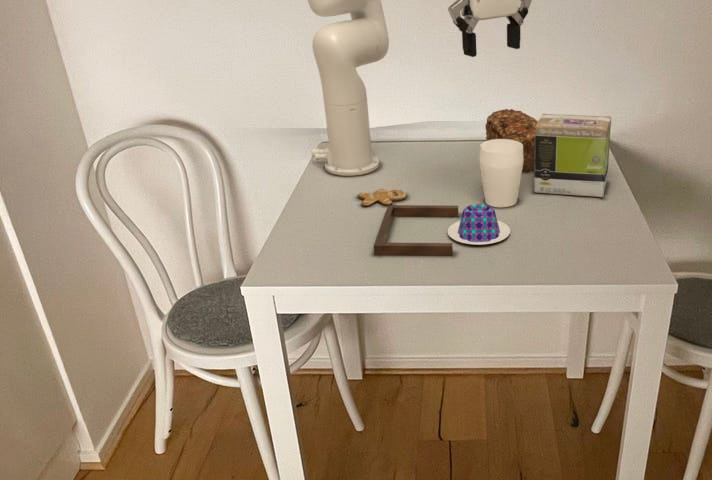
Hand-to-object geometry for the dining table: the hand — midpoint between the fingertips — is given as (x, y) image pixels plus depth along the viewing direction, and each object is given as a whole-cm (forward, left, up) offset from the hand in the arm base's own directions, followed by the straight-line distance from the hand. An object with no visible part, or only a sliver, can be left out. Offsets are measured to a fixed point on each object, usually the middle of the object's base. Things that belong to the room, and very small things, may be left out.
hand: (492, 51), depth 137 cm
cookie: (-23, +6, -32) cm, 40 cm away
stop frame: (-14, -11, -31) cm, 36 cm away
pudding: (-2, -11, -32) cm, 33 cm away
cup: (+2, +5, -32) cm, 32 cm away
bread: (+6, +31, -32) cm, 45 cm away
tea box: (+17, +13, -32) cm, 38 cm away
